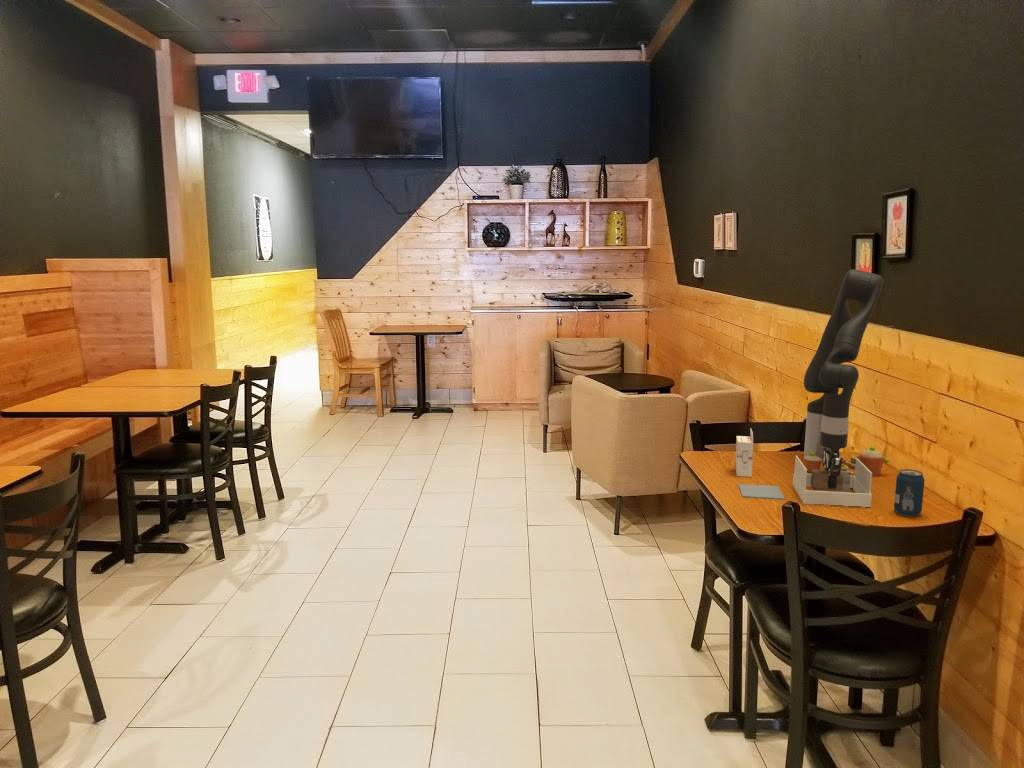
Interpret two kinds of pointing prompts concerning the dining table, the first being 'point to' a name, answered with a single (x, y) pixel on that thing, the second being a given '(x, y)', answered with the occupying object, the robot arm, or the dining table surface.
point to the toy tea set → (867, 457)
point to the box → (821, 480)
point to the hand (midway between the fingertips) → (829, 485)
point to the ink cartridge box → (744, 455)
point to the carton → (857, 482)
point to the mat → (760, 491)
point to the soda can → (909, 492)
